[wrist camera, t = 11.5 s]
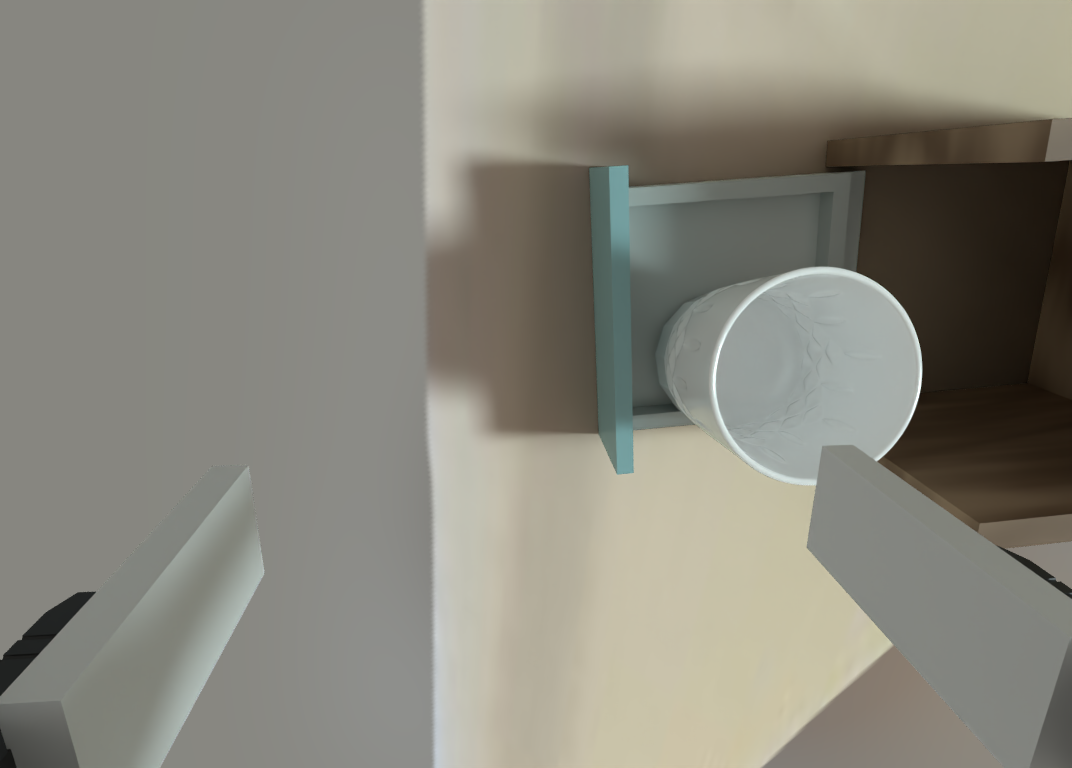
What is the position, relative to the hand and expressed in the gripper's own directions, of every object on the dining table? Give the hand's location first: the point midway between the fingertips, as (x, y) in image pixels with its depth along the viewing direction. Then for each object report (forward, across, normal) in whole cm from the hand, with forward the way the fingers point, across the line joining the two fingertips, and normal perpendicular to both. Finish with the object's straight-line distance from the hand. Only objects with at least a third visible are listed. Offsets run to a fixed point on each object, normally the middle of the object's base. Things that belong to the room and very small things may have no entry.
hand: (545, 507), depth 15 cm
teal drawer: (+19, +11, +1) cm, 22 cm away
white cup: (+18, +11, -2) cm, 21 cm away
